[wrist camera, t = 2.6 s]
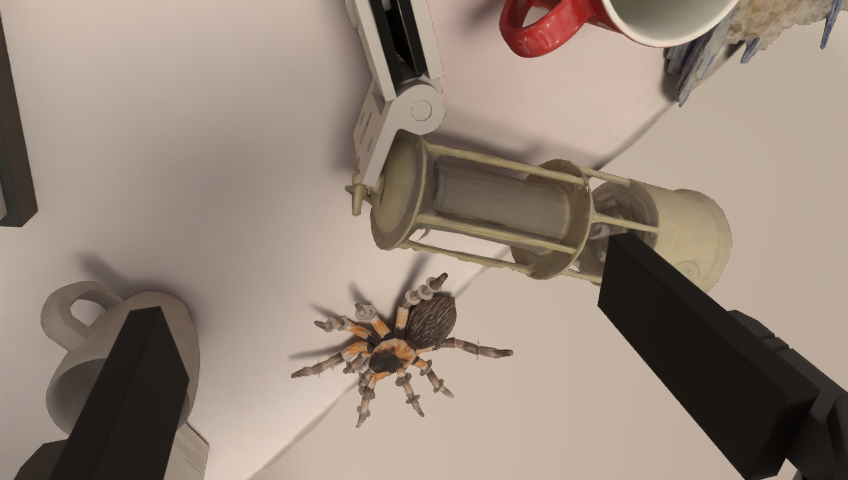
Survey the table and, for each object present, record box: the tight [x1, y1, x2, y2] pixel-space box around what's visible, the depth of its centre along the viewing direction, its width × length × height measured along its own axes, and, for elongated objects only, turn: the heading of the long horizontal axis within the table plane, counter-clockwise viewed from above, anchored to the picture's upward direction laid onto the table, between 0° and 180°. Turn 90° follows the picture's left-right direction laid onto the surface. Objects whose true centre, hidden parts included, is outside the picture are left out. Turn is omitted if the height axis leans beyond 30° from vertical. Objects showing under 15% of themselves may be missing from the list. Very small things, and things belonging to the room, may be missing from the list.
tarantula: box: [291, 273, 513, 428], centre depth 46 cm, size 16×17×5 cm
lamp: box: [345, 128, 732, 293], centre depth 38 cm, size 10×13×30 cm
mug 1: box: [41, 281, 200, 435], centre depth 36 cm, size 12×9×10 cm
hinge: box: [344, 0, 446, 187], centre depth 30 cm, size 14×5×10 cm, turn 2°
